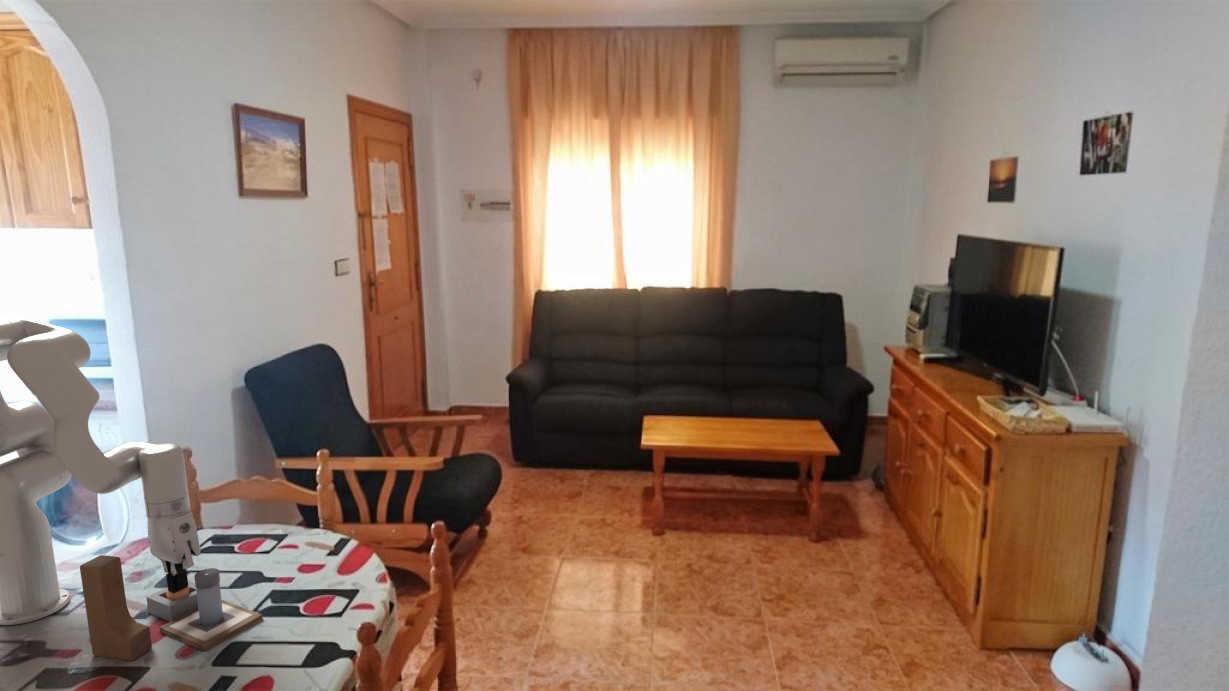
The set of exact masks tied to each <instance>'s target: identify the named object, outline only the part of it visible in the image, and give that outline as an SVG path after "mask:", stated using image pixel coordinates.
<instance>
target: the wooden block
mask: <svg viewBox="0 0 1229 691" xmlns="http://www.w3.org/2000/svg"><path fill="white" fill-rule="evenodd" d="M79 572H80V578H81V585H82V586H81V587H82V592H83V593H82V594H83V599H84V605H85V613H86V619H87V624H88V634H89V640H90V648H91V653H92V655H93V656H95V657H102V658H111V659H117V660H122V661H123V660H124V661H128V662H129V661H130V662H133V661H135V660H136V659H137V658H139V657H140V656H142V655H143V654H145V653H146V652H147V651H149V650H151V648H152V647H153V646H152V644H153V643H152V637H151V629H150V627H149V625H146V624H142V623H140V622H138V621H136V619H135V618H133V617H132V615H131V613H130V611H129V608H128V604H127V598H126V591H125V590H126V589H125V583H124V576H123V569H122V560H121V557H119V556H111V555H103V554H101V555H100V554H99V555H98V556H97V557H95V558H92V559H91V560H89V561H87V562H84V563H82V564H80V566H79Z"/></svg>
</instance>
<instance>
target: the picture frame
mask: <svg viewBox="0 0 1229 691" xmlns="http://www.w3.org/2000/svg"><path fill="white" fill-rule="evenodd" d="M221 601H222V611H223V619H222V620H221V621H220V622H218V623H216V624H214V625H210V626H203V625H201V624H200V618H199V609H198V608H197V609H195V610H193V611H191V612H189V613H187V614H185V615H183V616H181V617H179V618H177V619H175V620H173V621H171V622H169V621H168V622H167V623H165V624H163V625H161V626H159V633H161V634H164V635H167V636H169V637H171V638H173V639H176V640H178V641H180V642H183V643H185V644H187V645H190V646H192V647H194V648H197V649H199V650H201V651H203V652H206V651H209V650H210V649H213V648H214V647H216V646H218V645H219V644H221V643H222V642H224V641H227V640H229V639H230V638H232V637H234V636H235V635H237V634H239V633H241V632H242V631H244V630H246V629H247V628H250V627H251V626H253V625H255V624H257V623H258V622H260V621H262V620H263V618H264V617H263V614H261V613H259V612H256V611H254V610H250V609H248V608H246V607H243V606H241V605H237V604H235V603H233V602H229V601H226V600H224V599H222V598H221Z"/></svg>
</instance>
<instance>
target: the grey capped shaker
mask: <svg viewBox="0 0 1229 691" xmlns="http://www.w3.org/2000/svg"><path fill="white" fill-rule="evenodd" d="M193 577H194V583H195V586H196V591H197V600H198V609H199V618H200V624H201V625H203V626H210V625H214V624H216V623H218V622H220V621H221V620H222V619H223V611H222V601H221V599H222V593H221V592H222V591H221V583H220V582H221V579H220V577H221V575H220V570H219V569H218V568H215V567H211V568H204V569H201V570H199V571H197V572H196V573H195V574H194V575H193Z"/></svg>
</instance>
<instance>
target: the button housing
mask: <svg viewBox="0 0 1229 691" xmlns="http://www.w3.org/2000/svg"><path fill="white" fill-rule="evenodd" d="M188 586H189V592H190V594H187V595H185V596H183V597H181V598H179V599H177V600H175V601H171V600H169V599H167V595H166V591H167V590H168V586H167V587H166V588H163V589H161V590H159V591H156V592H154V593H153V594H150V595H148V596H146V605H147V612H148V614H151V615H152V616H155V617H157V618H160V619H163V620H164V621H168V623H169V622H171V621H173V620H175V619H177V618H179V617H181V616H183V615H185V614H187V613H189V612H191V611H193V610H195V609H197V608H198V600H197V591H196V586H195V581H191V580H188Z"/></svg>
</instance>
